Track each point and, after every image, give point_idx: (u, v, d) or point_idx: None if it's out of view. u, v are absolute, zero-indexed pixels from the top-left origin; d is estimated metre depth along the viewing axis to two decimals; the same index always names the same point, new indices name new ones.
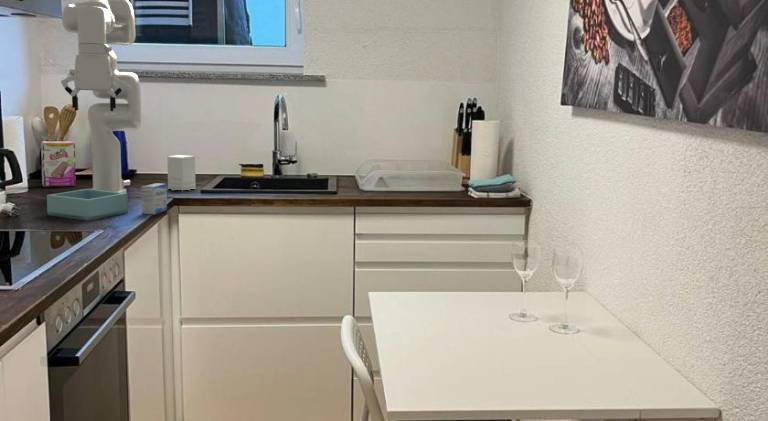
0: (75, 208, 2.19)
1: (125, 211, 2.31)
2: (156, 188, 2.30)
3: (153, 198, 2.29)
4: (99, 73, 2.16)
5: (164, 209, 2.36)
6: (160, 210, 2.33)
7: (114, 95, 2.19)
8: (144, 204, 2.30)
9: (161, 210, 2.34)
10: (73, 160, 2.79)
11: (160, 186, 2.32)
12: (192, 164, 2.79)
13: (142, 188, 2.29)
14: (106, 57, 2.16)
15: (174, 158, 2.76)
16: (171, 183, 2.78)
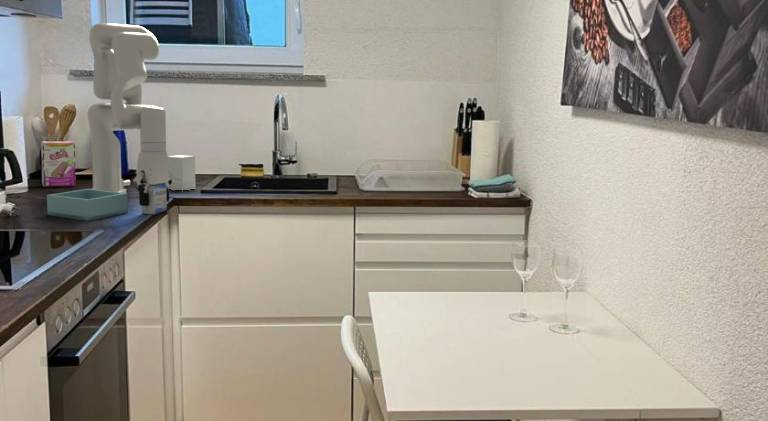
0: (75, 208, 2.19)
1: (125, 211, 2.31)
2: (156, 188, 2.30)
3: (153, 198, 2.29)
4: (163, 168, 2.33)
5: (164, 209, 2.36)
6: (160, 210, 2.33)
7: (169, 187, 2.37)
8: None
9: (161, 210, 2.34)
10: (73, 160, 2.79)
11: (160, 186, 2.32)
12: (192, 164, 2.79)
13: None
14: (166, 152, 2.34)
15: (174, 158, 2.76)
16: (171, 183, 2.78)
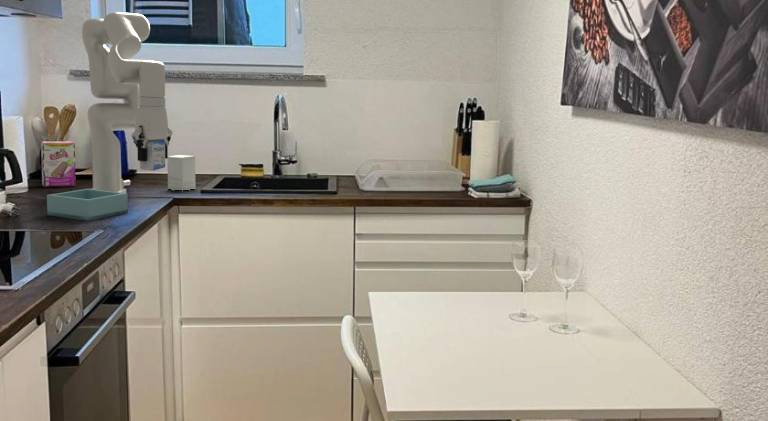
0: (75, 208, 2.19)
1: (125, 211, 2.31)
2: (154, 143, 2.28)
3: (151, 154, 2.27)
4: (162, 124, 2.31)
5: (162, 166, 2.34)
6: (158, 166, 2.31)
7: (167, 143, 2.35)
8: None
9: (159, 166, 2.32)
10: (73, 160, 2.79)
11: (159, 142, 2.30)
12: (192, 164, 2.79)
13: None
14: (165, 108, 2.31)
15: (174, 158, 2.76)
16: (171, 183, 2.78)
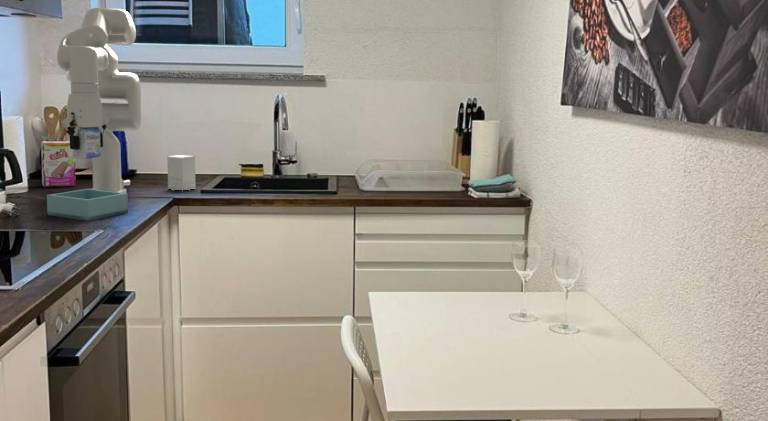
0: (75, 208, 2.19)
1: (125, 211, 2.31)
2: (87, 131, 2.21)
3: (84, 141, 2.20)
4: (96, 111, 2.24)
5: (97, 154, 2.27)
6: (92, 155, 2.24)
7: (103, 132, 2.28)
8: None
9: (94, 155, 2.25)
10: (73, 160, 2.79)
11: (92, 130, 2.23)
12: (192, 164, 2.79)
13: None
14: (99, 95, 2.25)
15: (174, 158, 2.76)
16: (171, 183, 2.78)
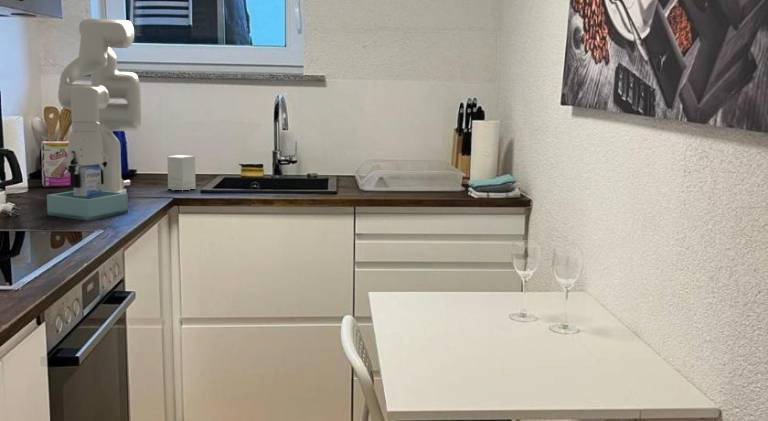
0: (75, 208, 2.19)
1: (125, 211, 2.31)
2: (88, 169, 2.23)
3: (85, 179, 2.22)
4: (96, 149, 2.25)
5: (98, 191, 2.28)
6: (93, 192, 2.26)
7: (103, 169, 2.30)
8: None
9: (94, 192, 2.26)
10: None
11: (93, 167, 2.25)
12: (192, 164, 2.79)
13: None
14: (100, 133, 2.26)
15: (174, 158, 2.76)
16: (171, 183, 2.78)
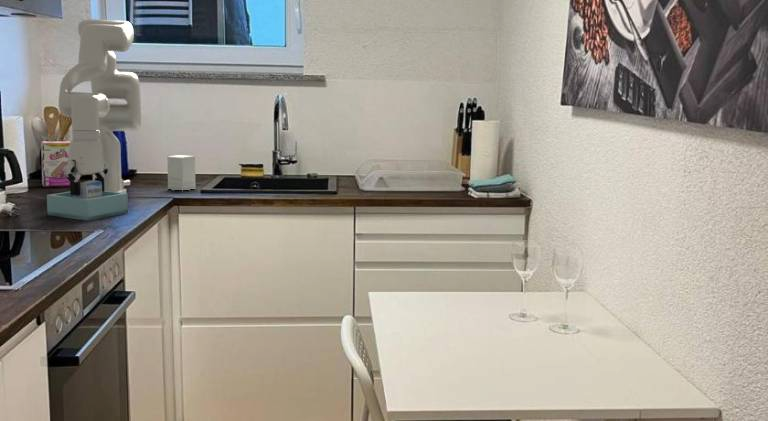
0: (75, 208, 2.19)
1: (125, 211, 2.31)
2: (89, 185, 2.24)
3: (85, 196, 2.23)
4: (97, 157, 2.26)
5: None
6: None
7: (104, 176, 2.31)
8: None
9: None
10: None
11: (94, 183, 2.26)
12: (192, 164, 2.79)
13: None
14: (100, 141, 2.27)
15: (174, 158, 2.76)
16: (171, 183, 2.78)
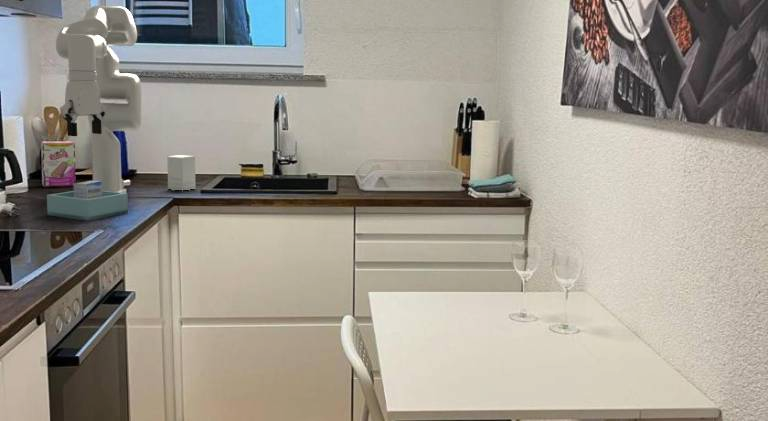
0: (75, 208, 2.19)
1: (125, 211, 2.31)
2: (89, 185, 2.24)
3: (85, 196, 2.23)
4: (94, 99, 2.25)
5: None
6: None
7: (101, 118, 2.30)
8: None
9: None
10: (73, 160, 2.79)
11: (94, 183, 2.26)
12: (192, 164, 2.79)
13: (74, 185, 2.23)
14: (97, 83, 2.26)
15: (174, 158, 2.76)
16: (171, 183, 2.78)
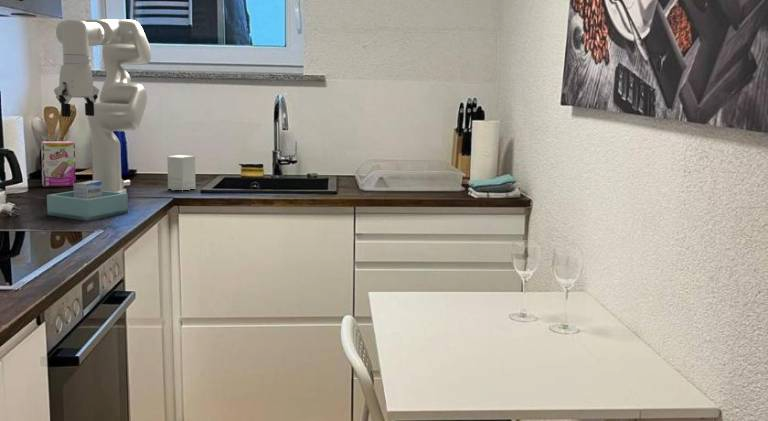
0: (75, 208, 2.19)
1: (125, 211, 2.31)
2: (89, 185, 2.24)
3: (85, 196, 2.23)
4: (87, 82, 2.37)
5: None
6: None
7: (94, 101, 2.42)
8: None
9: None
10: (73, 160, 2.79)
11: (94, 183, 2.26)
12: (192, 164, 2.79)
13: (74, 185, 2.23)
14: None
15: (174, 158, 2.76)
16: (171, 183, 2.78)
